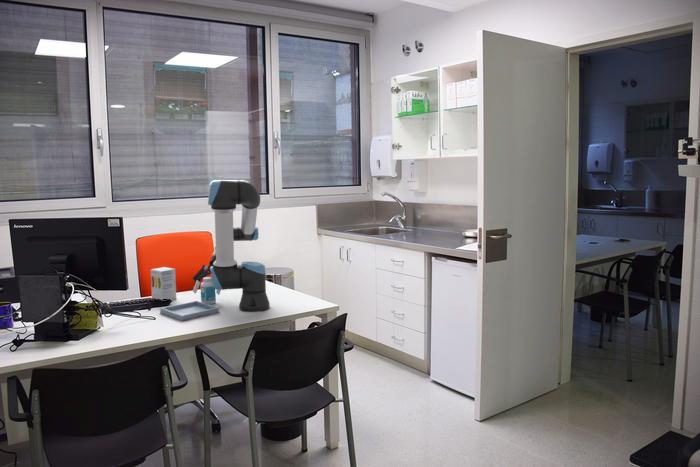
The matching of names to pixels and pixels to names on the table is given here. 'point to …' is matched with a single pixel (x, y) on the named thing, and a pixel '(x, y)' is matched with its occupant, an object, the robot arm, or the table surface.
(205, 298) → the pill bottle
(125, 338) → the table surface
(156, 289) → the supplement box
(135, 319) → the table surface
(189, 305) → the tray
